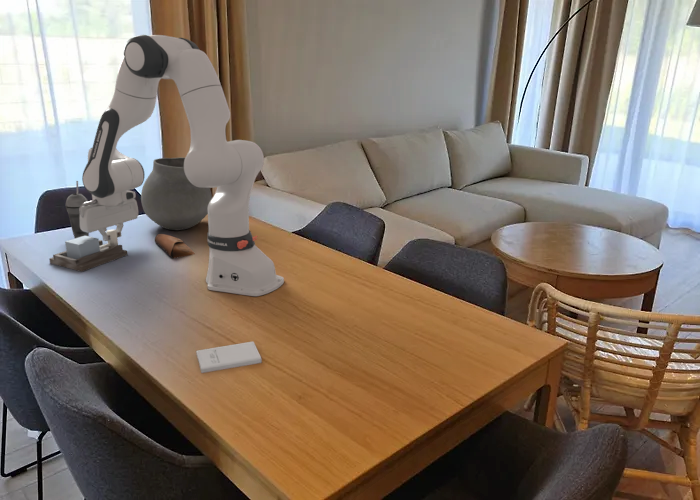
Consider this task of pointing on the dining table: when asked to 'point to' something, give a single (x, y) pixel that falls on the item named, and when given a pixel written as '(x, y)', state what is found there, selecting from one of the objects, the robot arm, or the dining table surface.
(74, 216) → the beverage cup
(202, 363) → the external hard drive
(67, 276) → the dining table surface
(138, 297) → the dining table surface
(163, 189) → the ceramic pot
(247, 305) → the dining table surface
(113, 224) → the robot arm
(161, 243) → the sunglasses case
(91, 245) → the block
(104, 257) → the tray
